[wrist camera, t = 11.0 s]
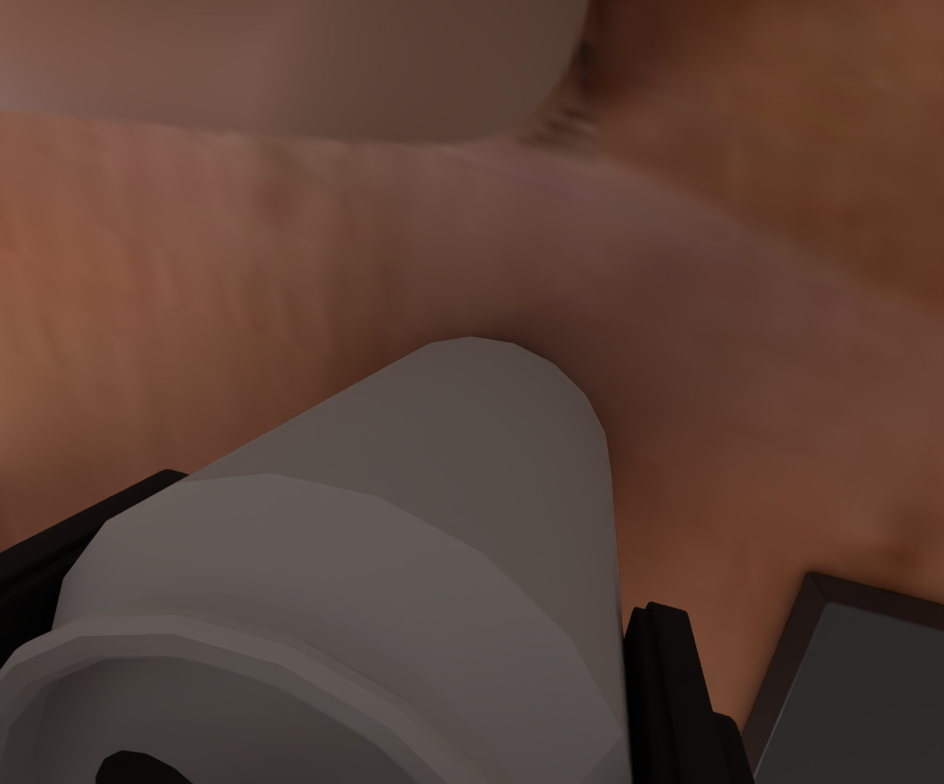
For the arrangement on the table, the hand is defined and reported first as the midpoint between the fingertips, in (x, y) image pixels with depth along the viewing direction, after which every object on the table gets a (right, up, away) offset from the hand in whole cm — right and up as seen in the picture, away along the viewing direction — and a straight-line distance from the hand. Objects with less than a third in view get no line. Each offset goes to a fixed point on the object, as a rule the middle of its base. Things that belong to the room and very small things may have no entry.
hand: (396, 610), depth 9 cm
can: (+2, +2, +7) cm, 7 cm away
